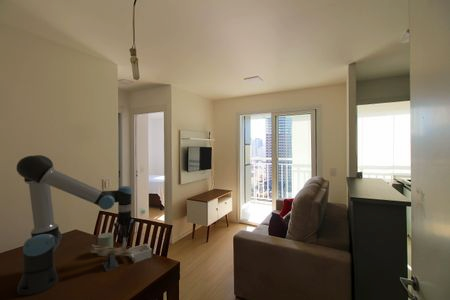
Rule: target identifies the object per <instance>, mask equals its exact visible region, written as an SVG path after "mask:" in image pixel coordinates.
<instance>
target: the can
mask: <svg viewBox="0 0 450 300" xmlns="http://www.w3.org/2000/svg"><path fill="white" fill-rule="evenodd" d="M97 246H102V247H111V248H114V232H113V233H112V232H104V233H100V234H98V235H97ZM96 254H97V256H99V257H100V256H101V257H105V256H106V257H107V254H101V253H96Z"/></svg>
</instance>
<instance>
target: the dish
mask: <svg viewBox="0 0 450 300" xmlns="http://www.w3.org/2000/svg"><path fill="white" fill-rule="evenodd" d="M128 249H129V252H132V253H131V255H130V256H128V257H129V259H131V261H132V262H133V263H134V264H136V263H138V262H142V261H145V260H148V259H152V258H153V249H152V248H151V247H150V246H149V245H148V244H147V243H144V244H140V245H136V246H132V247H129V248H128ZM142 250H145V251H143V252H141V251H142Z"/></svg>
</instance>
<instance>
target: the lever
mask: <svg viewBox="0 0 450 300" xmlns="http://www.w3.org/2000/svg"><path fill="white" fill-rule="evenodd" d="M89 248H90V249H89V251H90V253H91V254H93V253H94V254H97V253H101V254H109V255H110V254H114V253H115V256H124V257H125V256H127V257H129V256H130V255H131V253H132V252H129V248H128V249H127V247H126V248H124V249H123V248H122V246H119V247H113V248H111V247H102V246H98V245H95V244H93V243H92V244H91V246H90V247H89Z"/></svg>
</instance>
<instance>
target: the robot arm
mask: <svg viewBox="0 0 450 300" xmlns="http://www.w3.org/2000/svg"><path fill="white" fill-rule="evenodd" d="M16 172H17V174H19V175H20V177H22V178H23V179H24V183H25V184H28V189H29V196H30V204H31V211H32V212H31V213H32V220H33V229H32V230H31V231H30V235H31V237H30V238H28V239H26V240H25V242H24V243H23V247H22V253H23V254H22V274H21V277H20V280H19V282H18V284H17V288H16V289H17V294H18V295H19V296H30V295H36V294H39V293H42V292H44V291H46V290H48V289H51V288H52V287H53V286H56V284H57V282H58V280H59V279H58V278H59V275H58V272H57V270H56V268H55V251H56V249H57V248H58V246H59V245H60V243H61V241H62V232H61V231H60V228H59V225H58V224H57V223H55V217H54V209H53V208H54V207H53V201H52V199H53V198H52V191H51V187H52V188H56V189H57V190H61V191H62V192H64V193H67V194H70V195H73V196H74V197H77V198H80V199H82V200H84V201H86V202H89V203H90V204H94V205H97V206H99V208H100V209H102V210H109V209H112V208H113V207H114V205H115V203H118V205H117V211H118V212H117V220H116V221H115V222H113V224H112V225H113V226H114V228H115V232H116V236H117V238H118V239H120V243H121V247H122V248H123V249H124V248H126V249H127V243H128V242H129V241H128V240H129V239H128V238H129V237H130V236H132V231H133V227H134V224H135V223H136V220H135V219H133V218H132V187H131V186H126V185H125V186H120V187H118V189H117V190H101V189H97V188H95V187H94V186H91V185H89V184H87V183H86V182H83V181H80V180H77V178H74V177H72V176H70V175H67V174H65V173H63V172H60V171H58V170H55V167H54V163H53V161H52V159H50V158H49V157H47V156H45V155H42V154H41V155H40V154H37V155H27V156H25V157H23V158H21V159H20V160H18V162H17V164H16ZM118 225H119V226H120V230H119V226H118Z"/></svg>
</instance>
